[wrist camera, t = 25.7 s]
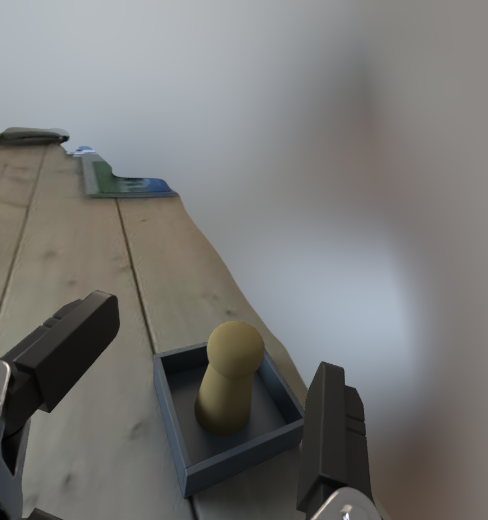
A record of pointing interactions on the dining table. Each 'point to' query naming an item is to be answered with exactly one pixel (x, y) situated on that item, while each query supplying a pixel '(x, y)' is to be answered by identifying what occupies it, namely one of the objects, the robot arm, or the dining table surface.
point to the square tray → (214, 446)
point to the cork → (229, 378)
